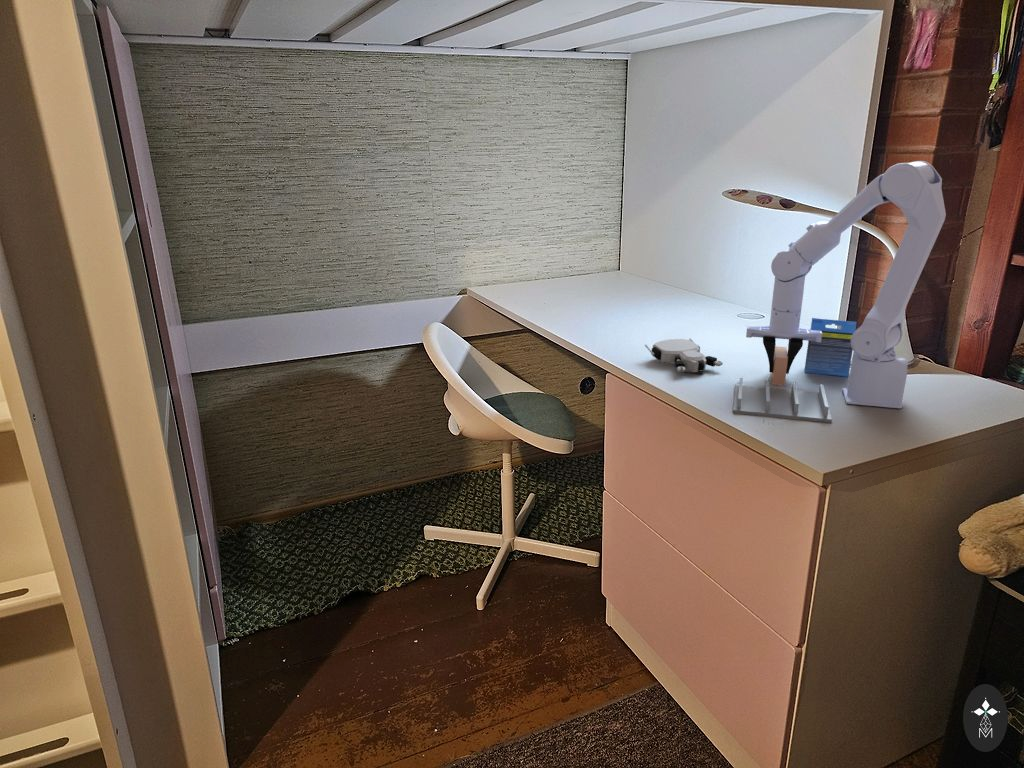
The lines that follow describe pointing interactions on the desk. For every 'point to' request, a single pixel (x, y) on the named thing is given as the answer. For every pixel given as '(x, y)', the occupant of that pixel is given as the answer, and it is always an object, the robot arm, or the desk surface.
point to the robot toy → (682, 355)
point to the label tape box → (830, 348)
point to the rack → (781, 402)
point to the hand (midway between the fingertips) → (778, 371)
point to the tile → (780, 366)
